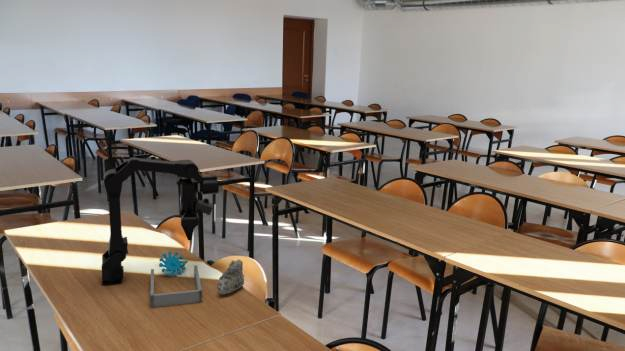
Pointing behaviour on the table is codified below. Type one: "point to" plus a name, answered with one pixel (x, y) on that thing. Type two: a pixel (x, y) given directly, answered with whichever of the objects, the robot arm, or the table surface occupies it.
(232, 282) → the mineral rock
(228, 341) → the table surface
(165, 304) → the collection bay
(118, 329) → the table surface
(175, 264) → the gear
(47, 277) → the table surface
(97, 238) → the table surface
